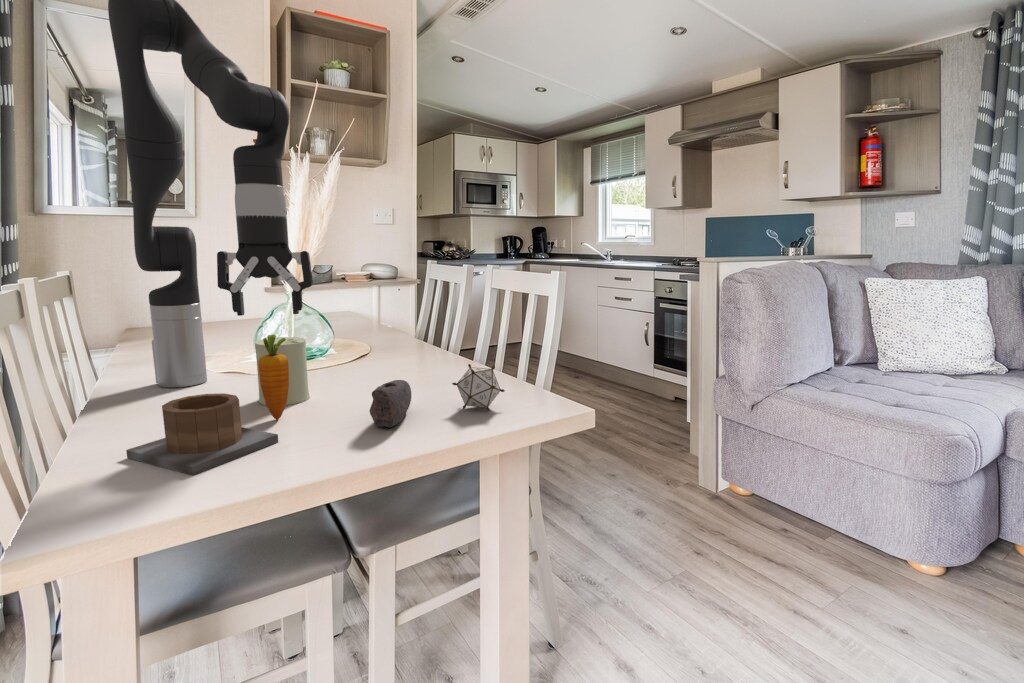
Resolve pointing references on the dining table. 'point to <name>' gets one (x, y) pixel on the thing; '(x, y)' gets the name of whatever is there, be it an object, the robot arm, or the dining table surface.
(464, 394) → the game die
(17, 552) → the dining table surface
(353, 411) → the dining table surface
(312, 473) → the dining table surface
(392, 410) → the perforated stone tool
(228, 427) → the holder
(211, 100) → the robot arm
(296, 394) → the can
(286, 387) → the carrot
